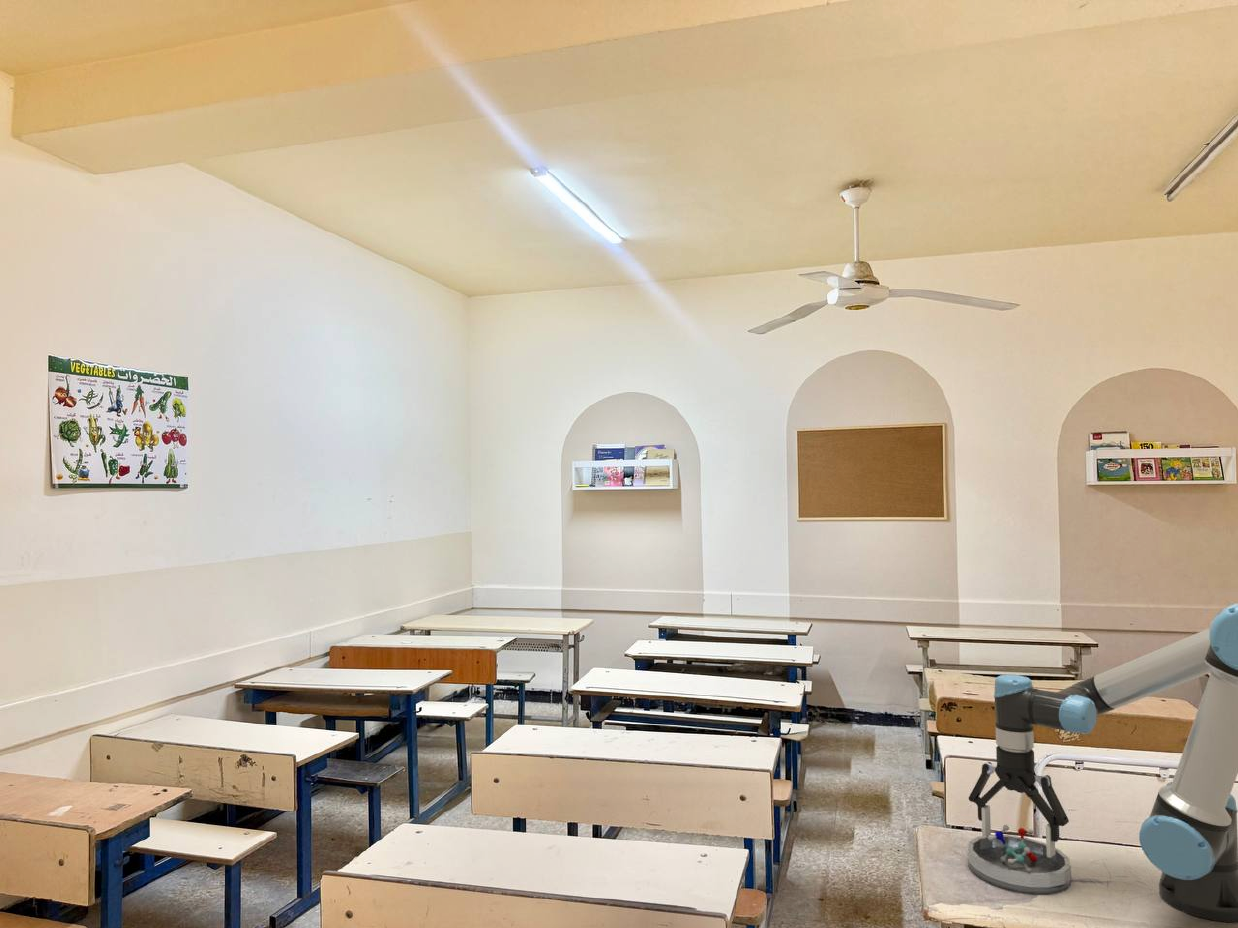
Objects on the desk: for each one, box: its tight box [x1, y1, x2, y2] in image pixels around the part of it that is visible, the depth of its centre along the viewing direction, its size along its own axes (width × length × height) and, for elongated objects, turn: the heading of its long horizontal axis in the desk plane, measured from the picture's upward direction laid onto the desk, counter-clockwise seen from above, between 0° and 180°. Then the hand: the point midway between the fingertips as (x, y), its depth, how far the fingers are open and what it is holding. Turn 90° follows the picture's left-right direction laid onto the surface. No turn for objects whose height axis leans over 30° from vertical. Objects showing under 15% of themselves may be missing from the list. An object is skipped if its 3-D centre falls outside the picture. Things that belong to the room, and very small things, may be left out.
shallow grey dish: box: [967, 834, 1072, 896], centre depth 177 cm, size 20×20×4 cm
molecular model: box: [988, 824, 1037, 873], centre depth 178 cm, size 12×10×10 cm
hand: (1017, 845), depth 177 cm, fingers open, 13 cm apart
